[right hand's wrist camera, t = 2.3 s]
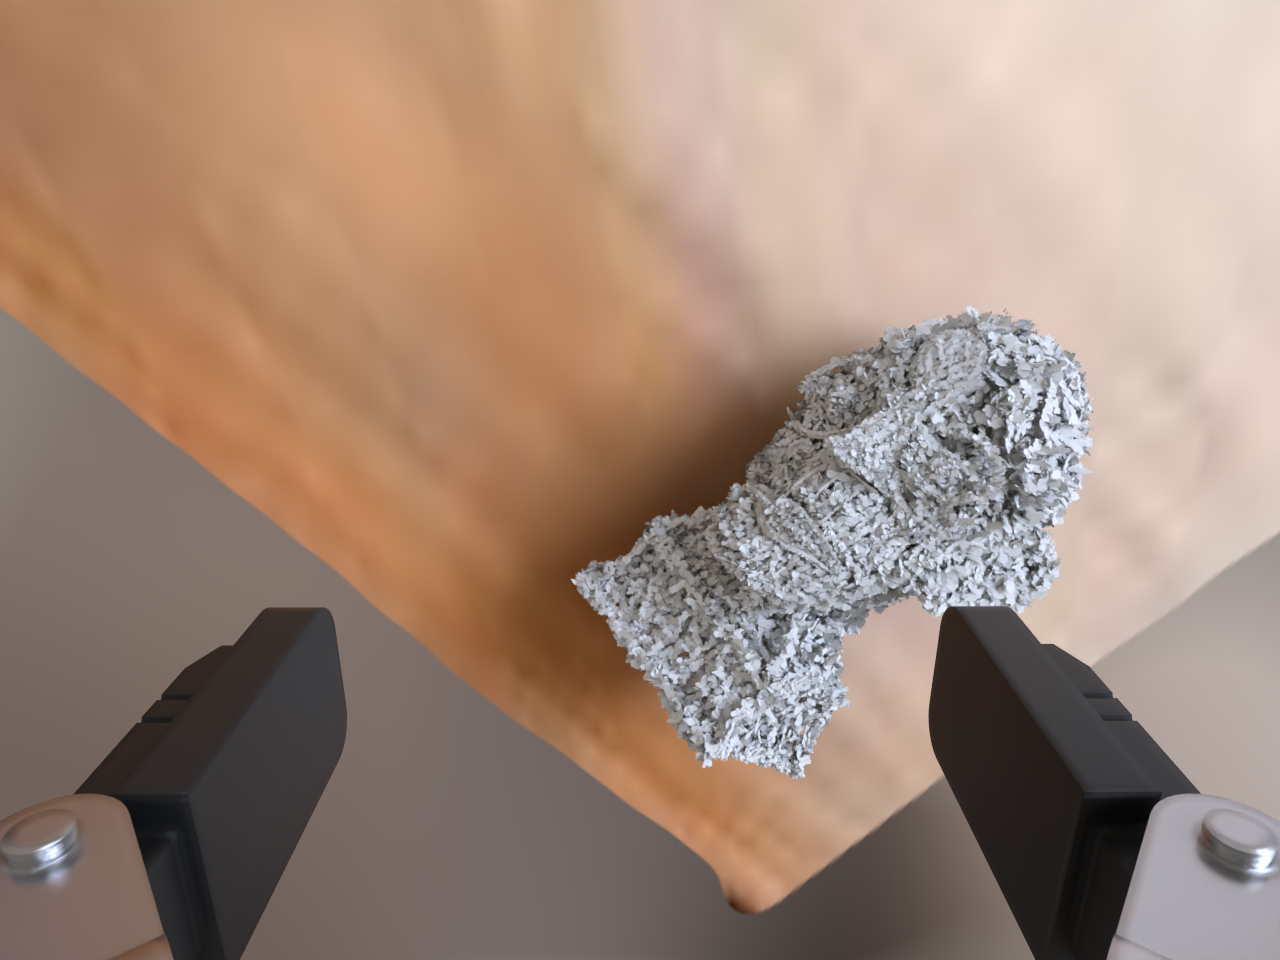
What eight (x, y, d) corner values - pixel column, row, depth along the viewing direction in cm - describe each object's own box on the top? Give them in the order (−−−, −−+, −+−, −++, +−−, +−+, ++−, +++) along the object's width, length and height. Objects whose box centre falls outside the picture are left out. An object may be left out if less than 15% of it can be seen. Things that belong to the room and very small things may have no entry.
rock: (844, 815, 52) (1221, 472, 44) (700, 866, 39) (1203, 387, 31) (685, 607, 61) (974, 291, 53) (523, 590, 48) (876, 165, 40)
